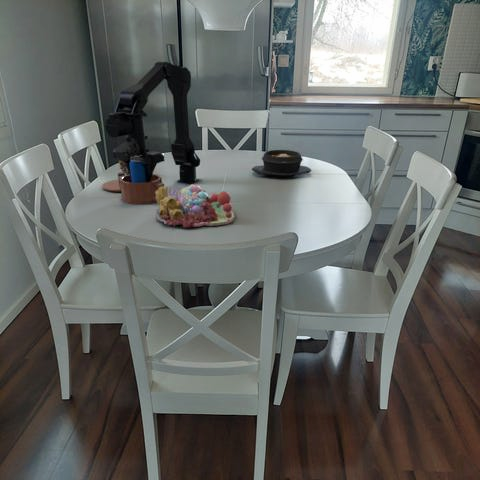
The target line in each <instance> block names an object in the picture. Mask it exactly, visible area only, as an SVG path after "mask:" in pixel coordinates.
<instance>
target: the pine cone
mask: <svg viewBox="0 0 480 480" xmlns="http://www.w3.org/2000/svg"><path fill="white" fill-rule="evenodd" d="M140 156H142V155H140ZM118 164H119V170H121V171H120V172H124V173H125V175H130V173H129V171H128V169H127V167H126V165H125V164H124V163H123V162H122V161H120V160H118Z"/></svg>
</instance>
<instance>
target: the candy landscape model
mask: <svg viewBox="0 0 480 480" xmlns="http://www.w3.org/2000/svg"><path fill="white" fill-rule="evenodd" d="M173 189H174V188H173V187H172V188H171V189H170V188H168V186H165V185H164V186H161V187H160V188H158V190H156V192H155V193H156V197H155V198H156V201H157V202H156V203H157V205H158V208H157V209H156V210H155V211H156V212H157V213H158V214H157V215H156V216H155V220H158V221H159V222H162V223H163V224H164V225H168V226H173V228H175V227H177V226H178V225H181V226H183V228H185V229H186V228H194V227H195V228H196V227H198V228H199V227H202V226H208V227H212V226H220V225H222V226H223V225H228V224H231V223H233V222H234V221H235V212H234V211H233V210H232V209H233V205H232V204H231V199H232V198H231V195H230V193H228V192H227V191H221V192H219V193H217V192H214V193H212V194H210V195H211V196H210V197H209V194H208V193H207V191H206V190H204V189H202V188H201V187H200V186H199V185H197V184H193V183H191V184H189V186H186V187H184V188H182V187H181V188H180V191H179V192H178V189H176V190H175V191H173Z"/></svg>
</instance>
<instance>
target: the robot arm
mask: <svg viewBox="0 0 480 480" xmlns="http://www.w3.org/2000/svg"><path fill="white" fill-rule="evenodd" d="M164 80H165V81H166V85H167V89H168V90H169V91H170V94H171V95H172V102H173V103H172V104H173V114H174V115H173V116H174V130H175V139H174V142H172V143H170V148H171V149H170V150H171V156H172V159H173V161H174V164H175V166H179V179H177V181H176V182H178V183H183V184H189V185H192V184H193V183H196V182H199V181H200V178H197V168H198V167H199V166H200V165H201V158H200V157H199V156H198V155H197V153H196V149H195V145H194V143H193V141H192V139H191V138H190V127H189V125H190V124H189V110H188V109H189V108H188V93H189V91H190V90H191V87H192V73H191V71H190V70H189V68H188V67H186V66H179V65H175V64H173V63H171V62H168V61H157V62H155V63H154V65H153V67H152V68H150V70H149V71H148V72H147V73H145V74H144V76H143V77H142V78H141V79H140V80H139V81H138V82H136V83H134V84H132V85H130V86H127V87H125V88H124V89H122V90H121V91H120V93H119V95H118V96H119V98H118V100H117V103H116V107H115V109H114V112H113V113H112V112H111V113H109V114H108V119H106V121H105V125H104V127H105V131H106V133H107V135H108V136H109V137H110V138H112V139H115V138H119V137H123V136H124V139H123V140H124V141H123V143H121V144H119V145H118V146H117V147H116V148H113V150H112V156H113V159H117V160H118V161H122V162H123V163H124V164H125V165H126V167H127V169H128V171H129V173H130V175H131V171H130V159H132V158H141V159H144V161H145V163H141V164H142V165H143V167H144V168H145V175H146V181H147V182H150V180H151V177H152V174H154V171H155V169H156V166H157V165H158V164H159V163H163V162H165V154H164V153H163V152H161V151H150V148H148V147H147V142H146V140H148V135H146V134H145V133H146V132H145V125H144V118H147V117H148V114H147V112H145V111H144V108H145V106H146V105H147V104H148V102H149V96H150V95H151V93H153V92H154V90H155V89H156V88H158V86H159V85H160V84H161V83H163V81H164ZM140 155H142V156H140Z"/></svg>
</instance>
